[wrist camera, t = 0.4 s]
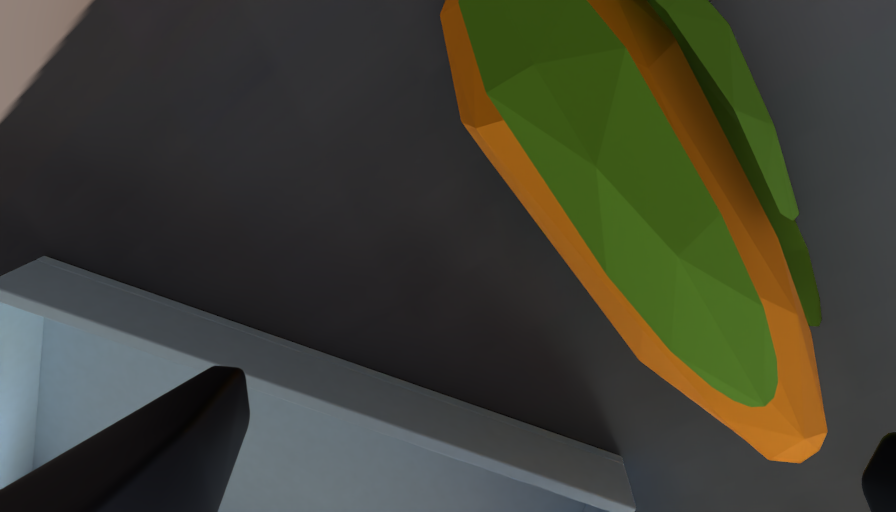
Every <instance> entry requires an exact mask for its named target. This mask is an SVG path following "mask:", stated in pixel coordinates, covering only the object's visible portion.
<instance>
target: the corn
mask: <svg viewBox="0 0 896 512" xmlns="http://www.w3.org/2000/svg"><path fill="white" fill-rule="evenodd" d="M440 18H441V23H442V28H443V33H444V38H445V43H446V48H447V53H448V58H449V63H450V68H451V73H452V78H453V83H454V88H455V93H456V98H457V103H458V108H459V113H460V118H461V122H462V123H463V125H464V126H465V127H466V129H467V130H468V132H469V133H470V134H471V136H472V137H473V138H474V140H475V141H476V143H477V144H478V145H479V147H480V148H481V149H482V151H483V152H484V154H485V155H486V156H487V158H488V159H489V160H490V162H491V163H492V164H493V166H494V167H495V168H496V170H497V171H498V172H499V174H500V175H501V176H502V178H503V179H504V180H505V182H506V183H507V184H508V186H509V187H510V188H511V190H512V191H513V192H514V194H515V195H516V196H517V198H518V199H519V200H520V202H521V203H522V204H523V206H524V207H525V208H526V210H527V211H528V212H529V214H530V215H531V216H532V218H533V219H534V220H535V222H536V223H537V225H538V226H539V228H540V229H541V231H542V232H543V233H544V234H545V236H546V237H547V238H548V239H549V241H550V242H551V243H552V244H553V246H554V247H555V248H556V250H557V251H558V252H559V254H560V255H561V256H562V258H563V259H564V260H565V262H566V263H567V264H568V266H569V267H570V268H571V270H572V271H573V272H574V274H575V275H576V276H577V278H578V279H579V280H580V282H581V283H582V284H583V286H584V287H585V288H586V290H587V291H588V293H589V294H590V295H591V297H592V298H593V299H594V301H595V302H596V303H597V305H598V306H599V307H600V309H601V310H602V311H603V313H604V314H605V315H606V317H607V318H608V319H609V321H610V322H611V323H612V325H613V326H614V327H615V329H616V330H617V331H618V333H619V334H620V335H621V337H622V338H623V339H624V341H625V342H626V343H627V345H628V346H629V347H630V349H631V350H632V351H633V353H634V354H635V355H636V357H637V358H638V359H639V361H641V362H642V363H643V364H645V365H646V366H647V367H649V368H650V369H651V370H653V371H654V372H655V373H657V374H658V375H659V376H661V377H662V378H663V379H665V380H666V381H667V382H669V383H670V384H671V385H673V386H674V387H675V388H677V389H678V390H679V391H681V392H682V393H683V394H685V395H686V396H687V397H689V398H690V399H691V400H693V401H694V402H695V403H697V404H698V405H699V406H701V407H702V408H703V409H705V410H706V411H707V412H709V413H710V414H711V415H713V416H714V417H715V418H717V419H718V420H719V421H721V422H722V423H723V424H725V425H726V426H727V427H729V428H730V429H731V430H733V431H734V432H735V433H737V434H738V435H739V436H741V437H742V438H743V439H744V440H745V441H747V442H748V443H749V444H750V445H751V446H753V447H754V448H755V449H756V450H757V451H759V452H760V453H761V454H762V455H763V456H764V457H766V458H767V459H768V460H773V461H783V462H793V463H801V462H803V461H804V460H806V459H807V458H809V457H810V456H812V455H813V454H815V453H816V452H818V451H819V450H820V448H821V445H822V443H823V441H824V439H825V436H826V434H827V432H828V431H827V425H826V419H825V413H824V407H823V401H822V395H821V389H820V383H819V377H818V371H817V365H816V359H815V353H814V347H813V341H812V335H811V331H810V328H809V326H819V325H820V323H821V320H822V317H821V306H820V297H819V293H818V289H817V285H816V281H815V277H814V273H813V268H812V264H811V260H810V256H809V252H808V248H807V246H806V244H805V242H804V240H803V237H802V235H801V233H800V231H799V228H798V226H797V224H796V222H795V220H794V219H795V218H796V217H797V216H798V215H799V211H798V207H797V204H796V200H795V197H794V193H793V190H792V186H791V183H790V179H789V176H788V172H787V169H786V165H785V162H784V158H783V155H782V151H781V148H780V144H779V141H778V137H777V134H776V130H775V127H774V124H773V122H772V120H771V118H770V115H769V113H768V111H767V109H766V106H765V104H764V102H763V100H762V97H761V95H760V93H759V91H758V88H757V86H756V84H755V82H754V79H753V77H752V75H751V73H750V70H749V68H748V66H747V63H746V61H745V59H744V57H743V54H742V52H741V50H740V48H739V45H738V43H737V41H736V39H735V36H734V34H733V32H732V30H731V27H730V25H729V24H728V22H727V21H726V20H725V19H724V18H723V17H722V16H721V14H720V13H719V12H718V11H717V10H716V9H715V8H714V7H713V5H712V4H711V3H710V2H709V1H708V0H446V1H445V3H444V6H443V8H442V11H441V13H440Z"/></svg>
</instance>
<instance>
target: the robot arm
mask: <svg viewBox="0 0 896 512" xmlns="http://www.w3.org/2000/svg"><path fill="white" fill-rule="evenodd" d="M249 420H250V408H249V400H248V392H247V384H246V377H245V373H244V371H243V370H242V369H240V368H238V367H228V366H212V367H210V368H208V369H207V370H205V371H203V372H201V373H200V374H198V375H196V376H195V377H193V378H191V379H189V380H188V381H186V382H184V383H183V384H181V385H179V386H177V387H176V388H174V389H172V390H170V391H169V392H167V393H165V394H164V395H162V396H160V397H158V398H157V399H155V400H153V401H152V402H150V403H148V404H146V405H145V406H143V407H141V408H140V409H138V410H136V411H134V412H133V413H131V414H129V415H128V416H126V417H124V418H122V419H121V420H119V421H117V422H116V423H114V424H112V425H110V426H109V427H107V428H105V429H104V430H102V431H100V432H98V433H97V434H95V435H93V436H92V437H90V438H88V439H86V440H85V441H83V442H81V443H80V444H78V445H76V446H74V447H73V448H71V449H69V450H68V451H66V452H64V453H62V454H61V455H59V456H57V457H56V458H54V459H52V460H50V461H49V462H47V463H45V464H43V465H42V466H40V467H38V468H37V469H35V470H33V471H31V472H30V473H28V474H26V475H25V476H23V477H21V478H19V479H18V480H16V481H14V482H13V483H11V484H9V485H7V486H6V487H4V488H2V489H1V490H0V512H218V510H219V507H220V504H221V501H222V498H223V496H224V493H225V490H226V487H227V485H228V482H229V479H230V476H231V473H232V471H233V468H234V465H235V462H236V459H237V457H238V454H239V451H240V448H241V446H242V443H243V440H244V437H245V434H246V432H247V429H248V425H249ZM862 488H863V492H864V495H865V498H866V500H867V503H868V505H869V507H870V510H871V512H896V432H892V433H888V434H887V435H885V436H884V437H883V438H882V439H881V441H880V443H879V445H878V446H877V448H876V450H875V452H874V454H873V456H872V457H871V459H870V461H869V463H868V465H867V466H866V468H865V470H864V472H863V475H862Z"/></svg>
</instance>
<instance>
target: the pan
mask: <svg viewBox="0 0 896 512" xmlns="http://www.w3.org/2000/svg"><path fill="white" fill-rule="evenodd" d="M212 366H228V367H238V368H240V369H242V370H243V371H244V373H245V377H246V384H247V392H248V400H249V408H250V420H249V425H248V429H247V432H246V434H245V437H244V440H243V443H242V446H241V448H240V451H239V454H238V457H237V459H236V462H235V465H234V468H233V471H232V473H231V476H230V479H229V482H228V485H227V487H226V490H225V493H224V496H223V498H222V501H221V504H220V507H219V510H218V512H635V510H636V505H635V502H634V498H633V495H632V491H631V487H630V484H629V480H628V477H627V473H626V470H625V466H624V462H623V459H622V457H621V456H619V455H616V454H613V453H610V452H607V451H605V450H602V449H599V448H596V447H593V446H590V445H587V444H584V443H582V442H579V441H576V440H573V439H570V438H567V437H564V436H561V435H559V434H556V433H553V432H550V431H547V430H544V429H541V428H538V427H536V426H533V425H530V424H527V423H524V422H521V421H518V420H515V419H513V418H510V417H507V416H504V415H501V414H498V413H495V412H492V411H490V410H487V409H484V408H481V407H478V406H475V405H472V404H469V403H467V402H464V401H461V400H458V399H455V398H452V397H449V396H446V395H443V394H441V393H438V392H435V391H432V390H429V389H426V388H423V387H420V386H418V385H415V384H412V383H409V382H406V381H403V380H400V379H397V378H395V377H392V376H389V375H386V374H383V373H380V372H377V371H374V370H372V369H369V368H366V367H363V366H360V365H357V364H354V363H351V362H349V361H346V360H343V359H340V358H337V357H334V356H331V355H328V354H326V353H323V352H320V351H317V350H314V349H311V348H308V347H305V346H303V345H300V344H297V343H294V342H291V341H288V340H285V339H282V338H280V337H277V336H274V335H271V334H268V333H265V332H262V331H259V330H257V329H254V328H251V327H248V326H245V325H242V324H239V323H236V322H234V321H231V320H228V319H225V318H222V317H219V316H216V315H213V314H211V313H208V312H205V311H202V310H199V309H196V308H193V307H190V306H188V305H185V304H182V303H179V302H176V301H173V300H170V299H167V298H164V297H162V296H159V295H156V294H153V293H150V292H147V291H144V290H141V289H139V288H136V287H133V286H130V285H127V284H124V283H121V282H118V281H116V280H113V279H110V278H107V277H104V276H101V275H98V274H95V273H93V272H90V271H87V270H84V269H81V268H78V267H75V266H72V265H70V264H67V263H64V262H61V261H58V260H55V259H52V258H49V257H47V256H42V257H40V258H38V259H36V261H32V262H30V263H28V264H26V265H23V266H21V267H19V268H17V269H15V270H13V271H11V272H8V273H6V274H4V275H2V276H0V490H1V489H2V488H4V487H6V486H7V485H9V484H11V483H13V482H14V481H16V480H18V479H19V478H21V477H23V476H25V475H26V474H28V473H30V472H31V471H33V470H35V469H37V468H38V467H40V466H42V465H43V464H45V463H47V462H49V461H50V460H52V459H54V458H56V457H57V456H59V455H61V454H62V453H64V452H66V451H68V450H69V449H71V448H73V447H74V446H76V445H78V444H80V443H81V442H83V441H85V440H86V439H88V438H90V437H92V436H93V435H95V434H97V433H98V432H100V431H102V430H104V429H105V428H107V427H109V426H110V425H112V424H114V423H116V422H117V421H119V420H121V419H122V418H124V417H126V416H128V415H129V414H131V413H133V412H134V411H136V410H138V409H140V408H141V407H143V406H145V405H146V404H148V403H150V402H152V401H153V400H155V399H157V398H158V397H160V396H162V395H164V394H165V393H167V392H169V391H170V390H172V389H174V388H176V387H177V386H179V385H181V384H183V383H184V382H186V381H188V380H189V379H191V378H193V377H195V376H196V375H198V374H200V373H201V372H203V371H205V370H207V369H208V368H210V367H212Z"/></svg>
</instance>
